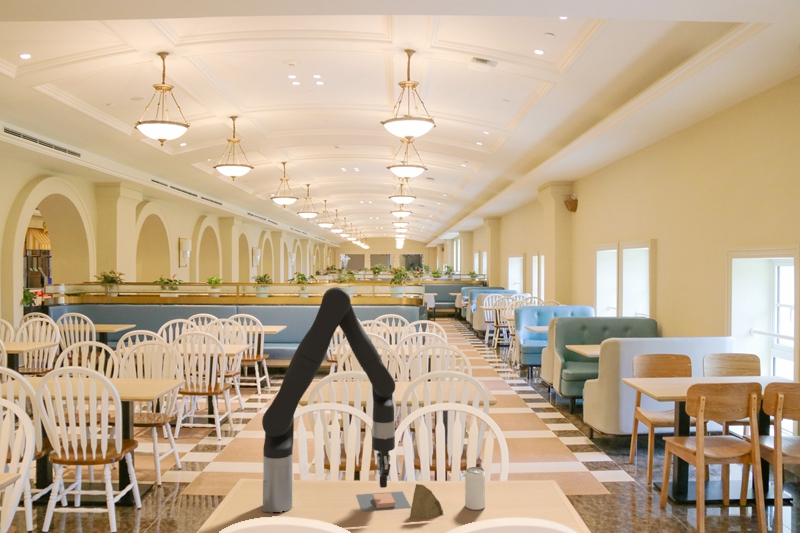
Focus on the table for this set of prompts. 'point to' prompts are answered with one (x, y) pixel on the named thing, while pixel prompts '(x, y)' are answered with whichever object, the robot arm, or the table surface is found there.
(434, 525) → the table surface
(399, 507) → the mat
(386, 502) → the tile
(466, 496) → the can
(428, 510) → the rock
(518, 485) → the table surface
